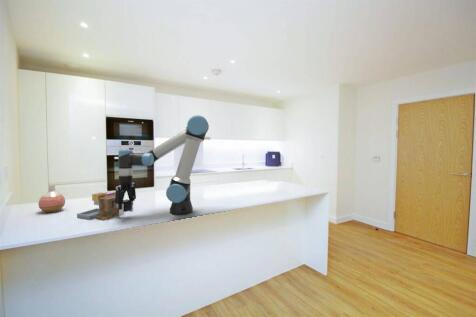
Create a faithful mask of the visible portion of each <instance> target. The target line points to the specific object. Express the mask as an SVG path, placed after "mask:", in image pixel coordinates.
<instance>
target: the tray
mask: <svg viewBox="0 0 476 317" xmlns="http://www.w3.org/2000/svg"><path fill="white" fill-rule="evenodd" d="M97 216H99V207H98V208H97V207H96V208H94V209H93V208H92V209H88V210H86V211H83V212H79V213H76V218H77V219H81V220H88V221H89V220H90V221H92V220H96V217H97Z"/></svg>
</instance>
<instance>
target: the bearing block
mask: <svg viewBox="0 0 476 317" xmlns="http://www.w3.org/2000/svg"><path fill="white" fill-rule="evenodd" d="M112 201H115V195H111V196H107V197H103V198H99V205H98V209H99V216H97V217H96V218H95V220H99V221H100V220H101V221H107V220H110V219H113V218H115V217H119V216H120V215H119V209H118V208H116V207H112Z"/></svg>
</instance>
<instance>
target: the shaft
mask: <svg viewBox="0 0 476 317" xmlns="http://www.w3.org/2000/svg"><path fill="white" fill-rule="evenodd" d="M122 204H124V213H126V212H130V211H129V210H132V200H129V199H123V203H122ZM93 205H94V206H99V201H93ZM112 207H116V208H118V204H116V203H115V201H112Z"/></svg>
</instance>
